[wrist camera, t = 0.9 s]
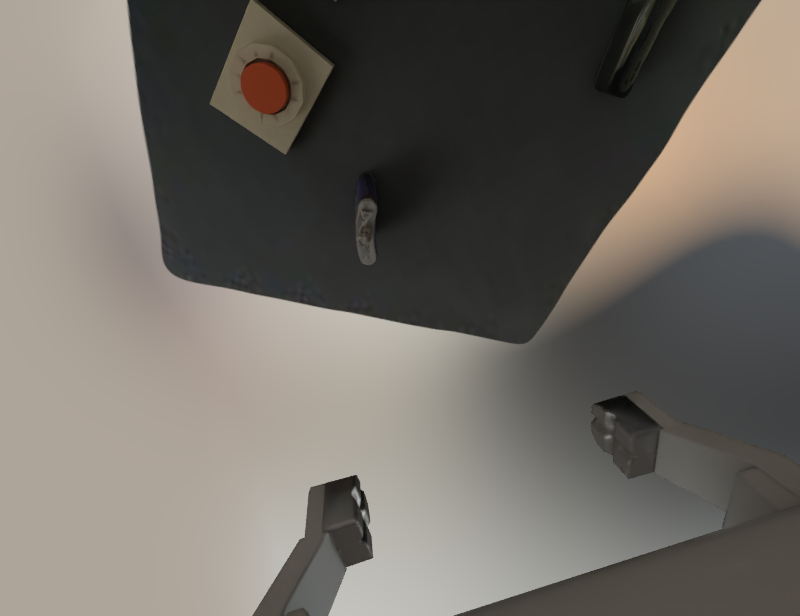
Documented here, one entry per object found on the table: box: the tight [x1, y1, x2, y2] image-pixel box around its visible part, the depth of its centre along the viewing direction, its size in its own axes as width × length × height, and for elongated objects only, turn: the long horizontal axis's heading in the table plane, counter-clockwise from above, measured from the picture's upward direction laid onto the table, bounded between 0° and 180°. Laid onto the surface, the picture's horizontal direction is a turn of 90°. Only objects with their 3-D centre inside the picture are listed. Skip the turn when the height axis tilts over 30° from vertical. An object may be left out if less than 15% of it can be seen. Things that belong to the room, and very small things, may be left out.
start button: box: [241, 62, 289, 114], centre depth 36 cm, size 4×4×2 cm
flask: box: [355, 173, 378, 265], centre depth 46 cm, size 9×3×11 cm, turn 178°
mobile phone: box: [595, 0, 677, 98], centre depth 37 cm, size 5×3×15 cm
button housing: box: [210, 0, 334, 155], centre depth 38 cm, size 11×9×4 cm
